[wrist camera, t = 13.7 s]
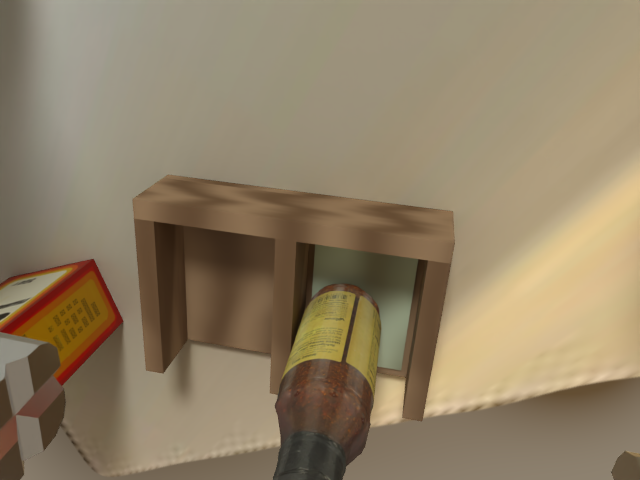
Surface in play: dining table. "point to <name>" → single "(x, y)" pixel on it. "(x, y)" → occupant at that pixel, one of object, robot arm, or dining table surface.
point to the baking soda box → (61, 311)
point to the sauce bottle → (328, 385)
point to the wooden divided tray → (287, 271)
